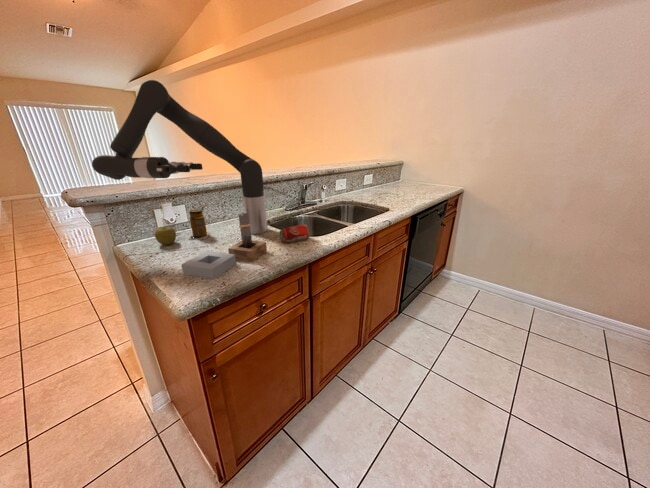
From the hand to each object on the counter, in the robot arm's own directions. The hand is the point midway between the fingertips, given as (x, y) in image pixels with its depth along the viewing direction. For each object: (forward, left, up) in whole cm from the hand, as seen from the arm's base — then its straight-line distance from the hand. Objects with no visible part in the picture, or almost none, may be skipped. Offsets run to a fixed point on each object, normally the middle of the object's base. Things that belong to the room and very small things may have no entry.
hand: (195, 167), depth 95 cm
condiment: (-12, -16, -32) cm, 38 cm away
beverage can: (-19, +29, -32) cm, 47 cm away
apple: (0, -22, -32) cm, 39 cm away
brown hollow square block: (0, +18, -32) cm, 37 cm away
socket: (+14, +12, -32) cm, 37 cm away
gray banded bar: (+1, +18, -32) cm, 37 cm away
